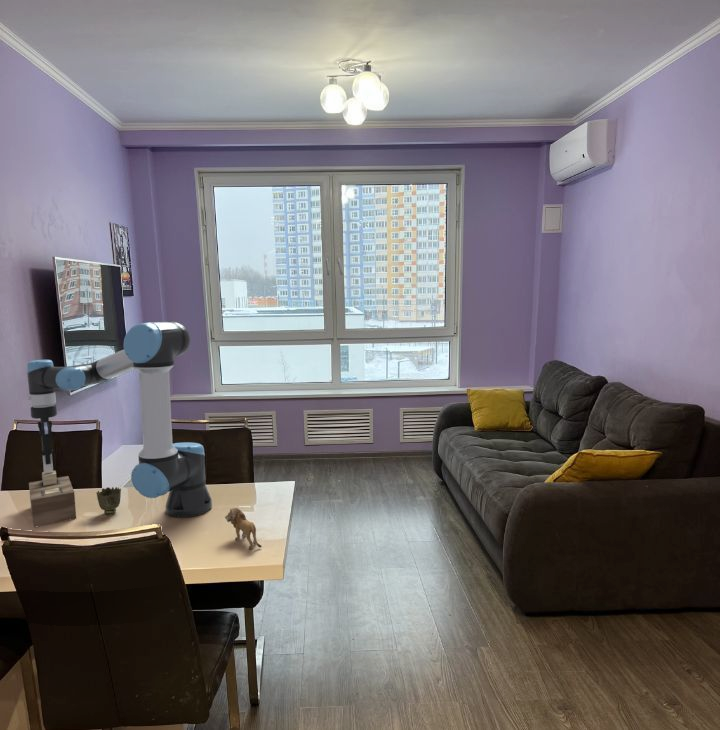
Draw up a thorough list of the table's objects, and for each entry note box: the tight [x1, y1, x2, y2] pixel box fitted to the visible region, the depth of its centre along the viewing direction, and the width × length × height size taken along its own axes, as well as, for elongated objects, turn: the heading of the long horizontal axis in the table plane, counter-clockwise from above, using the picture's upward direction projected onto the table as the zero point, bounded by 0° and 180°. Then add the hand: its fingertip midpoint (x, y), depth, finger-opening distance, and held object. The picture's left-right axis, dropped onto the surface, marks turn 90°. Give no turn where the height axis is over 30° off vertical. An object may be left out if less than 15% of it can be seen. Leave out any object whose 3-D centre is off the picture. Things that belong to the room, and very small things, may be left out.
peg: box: [41, 470, 58, 486], centre depth 179 cm, size 4×4×8 cm
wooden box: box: [28, 475, 77, 528], centre depth 175 cm, size 20×12×9 cm, turn 34°
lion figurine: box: [224, 507, 262, 550], centre depth 153 cm, size 15×5×9 cm, turn 50°
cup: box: [95, 486, 122, 516], centre depth 174 cm, size 8×7×8 cm
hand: (48, 472), depth 178 cm, fingers closed
